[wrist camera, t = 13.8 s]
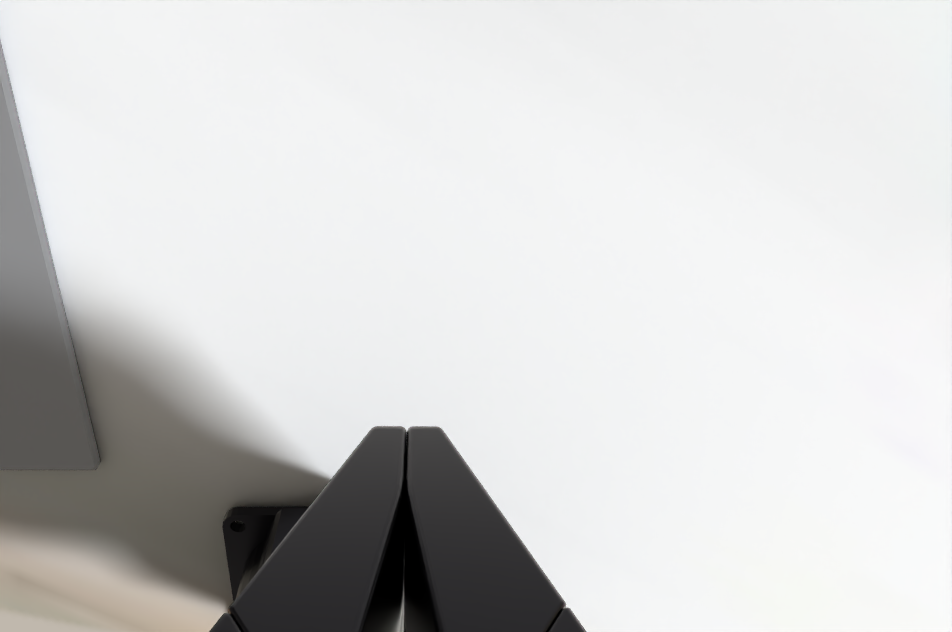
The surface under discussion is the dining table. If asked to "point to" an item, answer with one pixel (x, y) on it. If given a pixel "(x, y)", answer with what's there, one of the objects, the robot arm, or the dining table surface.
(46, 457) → the mat
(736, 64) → the dining table surface
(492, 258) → the dining table surface
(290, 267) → the dining table surface
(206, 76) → the dining table surface
